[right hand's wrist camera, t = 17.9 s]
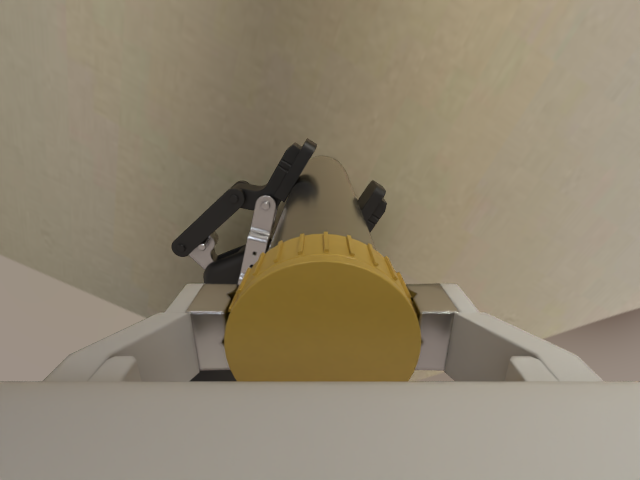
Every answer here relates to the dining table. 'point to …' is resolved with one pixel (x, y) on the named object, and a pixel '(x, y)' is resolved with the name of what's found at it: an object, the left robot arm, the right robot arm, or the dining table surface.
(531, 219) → the dining table surface
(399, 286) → the lid
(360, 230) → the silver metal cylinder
